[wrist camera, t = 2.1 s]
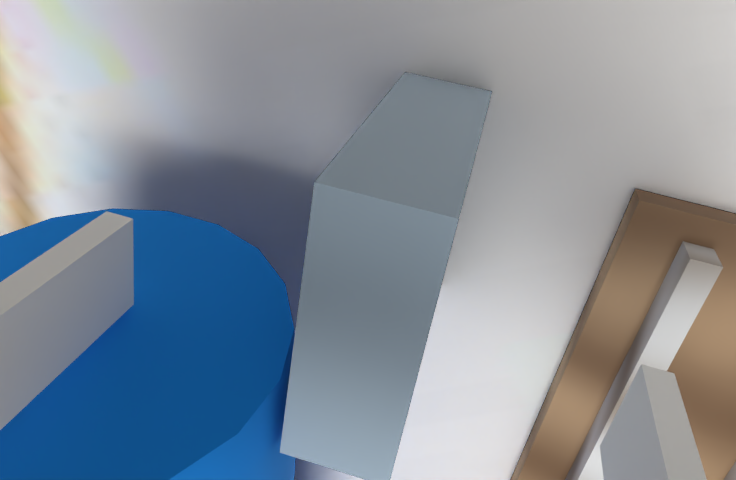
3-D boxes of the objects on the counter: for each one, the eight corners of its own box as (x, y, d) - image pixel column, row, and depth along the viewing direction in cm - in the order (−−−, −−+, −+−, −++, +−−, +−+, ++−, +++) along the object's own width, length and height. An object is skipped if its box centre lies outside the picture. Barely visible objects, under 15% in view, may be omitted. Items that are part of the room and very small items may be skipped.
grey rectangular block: (405, 71, 21) (314, 182, 13) (492, 91, 21) (458, 219, 12) (368, 267, 25) (279, 452, 17) (440, 287, 25) (387, 486, 16)
